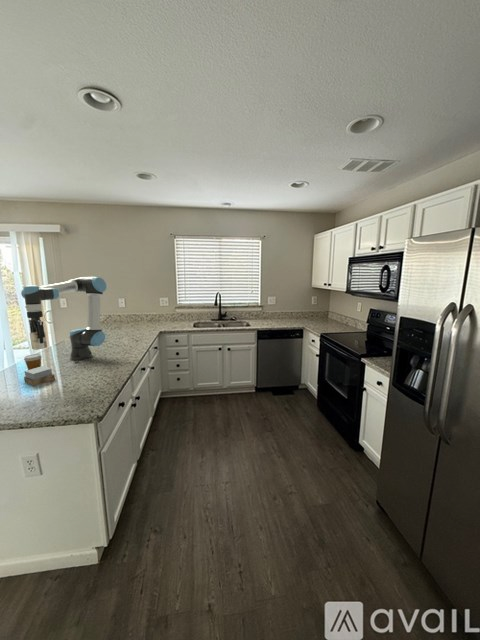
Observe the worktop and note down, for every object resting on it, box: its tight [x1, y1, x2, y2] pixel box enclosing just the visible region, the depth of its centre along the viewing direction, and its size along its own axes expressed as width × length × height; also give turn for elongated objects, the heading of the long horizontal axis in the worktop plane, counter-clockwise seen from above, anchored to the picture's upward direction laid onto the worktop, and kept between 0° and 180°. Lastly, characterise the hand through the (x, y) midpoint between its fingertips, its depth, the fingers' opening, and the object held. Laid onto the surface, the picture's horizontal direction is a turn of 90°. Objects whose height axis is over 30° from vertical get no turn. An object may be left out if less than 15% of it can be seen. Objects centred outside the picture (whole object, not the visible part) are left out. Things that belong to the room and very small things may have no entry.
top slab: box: [24, 365, 53, 380], centre depth 164 cm, size 10×10×4 cm
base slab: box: [23, 373, 56, 387], centre depth 165 cm, size 12×12×4 cm
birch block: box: [29, 331, 48, 351], centre depth 162 cm, size 6×6×10 cm
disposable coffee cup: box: [23, 353, 42, 370], centre depth 178 cm, size 10×10×12 cm
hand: (39, 347), depth 163 cm, fingers closed on birch block, 6 cm apart
